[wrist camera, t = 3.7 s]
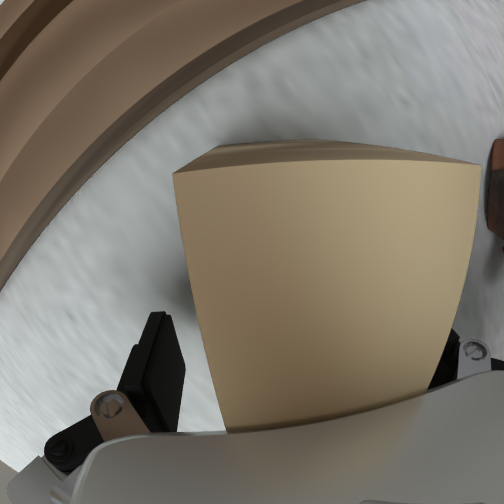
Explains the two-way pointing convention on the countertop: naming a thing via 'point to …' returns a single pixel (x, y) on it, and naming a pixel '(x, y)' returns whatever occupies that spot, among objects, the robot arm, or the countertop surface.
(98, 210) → the countertop surface
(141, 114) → the walnut ledge
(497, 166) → the broken clay jug
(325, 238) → the tan block
